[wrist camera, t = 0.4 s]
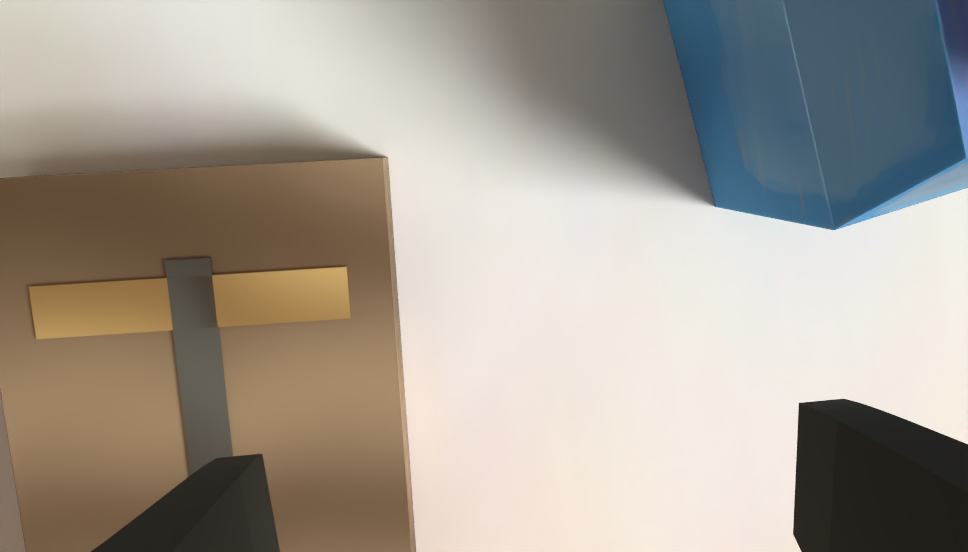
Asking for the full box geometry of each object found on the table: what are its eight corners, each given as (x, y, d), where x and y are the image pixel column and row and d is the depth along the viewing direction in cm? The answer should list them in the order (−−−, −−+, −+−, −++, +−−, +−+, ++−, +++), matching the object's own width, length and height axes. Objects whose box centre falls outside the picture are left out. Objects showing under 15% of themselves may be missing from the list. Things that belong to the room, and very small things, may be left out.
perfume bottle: (656, -26, 20) (994, -281, 8) (885, -97, 20) (1544, -448, 8) (715, 206, 21) (1088, 280, 9) (932, 138, 21) (1573, 123, 9)
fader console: (431, 775, 23) (433, 854, 20) (117, 808, 22) (78, 893, 20) (387, 157, 20) (382, 158, 18) (24, 176, 20) (-36, 180, 17)
